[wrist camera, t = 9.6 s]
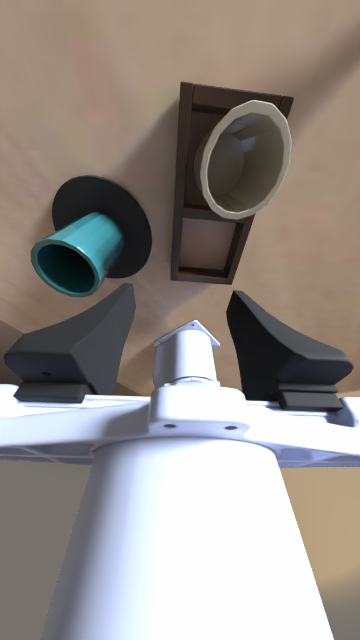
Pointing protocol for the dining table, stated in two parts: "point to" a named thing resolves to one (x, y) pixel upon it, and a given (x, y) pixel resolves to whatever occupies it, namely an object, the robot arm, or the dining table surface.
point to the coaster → (113, 201)
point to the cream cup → (243, 159)
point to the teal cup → (79, 254)
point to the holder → (190, 100)
